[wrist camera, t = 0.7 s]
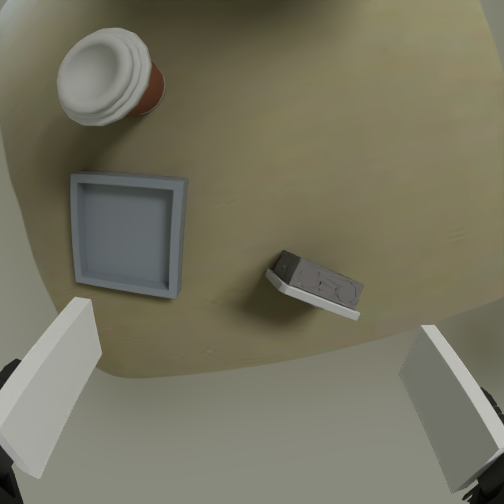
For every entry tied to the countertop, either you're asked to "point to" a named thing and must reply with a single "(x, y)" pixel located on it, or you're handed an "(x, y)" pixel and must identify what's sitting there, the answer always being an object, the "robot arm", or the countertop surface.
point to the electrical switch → (316, 285)
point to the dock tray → (128, 231)
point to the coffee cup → (109, 78)
